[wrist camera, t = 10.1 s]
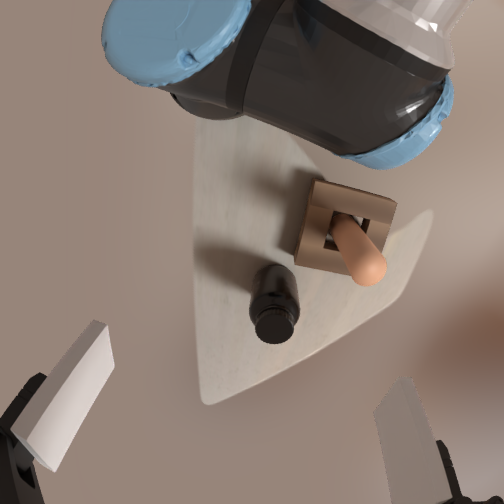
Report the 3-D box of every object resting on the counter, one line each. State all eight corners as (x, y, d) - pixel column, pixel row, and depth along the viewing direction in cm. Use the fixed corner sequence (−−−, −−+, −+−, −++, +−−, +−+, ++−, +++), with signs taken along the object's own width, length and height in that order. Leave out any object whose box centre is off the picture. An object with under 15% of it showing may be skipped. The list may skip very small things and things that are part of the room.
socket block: (312, 177, 39) (315, 181, 36) (389, 198, 38) (397, 203, 36) (293, 256, 43) (294, 264, 40) (366, 271, 43) (371, 279, 40)
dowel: (325, 236, 42) (345, 282, 29) (332, 210, 40) (357, 247, 27) (350, 242, 42) (379, 288, 29) (358, 217, 40) (391, 255, 27)
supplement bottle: (267, 307, 47) (263, 357, 36) (244, 275, 45) (234, 321, 34) (304, 289, 45) (311, 338, 34) (283, 255, 43) (284, 297, 32)
